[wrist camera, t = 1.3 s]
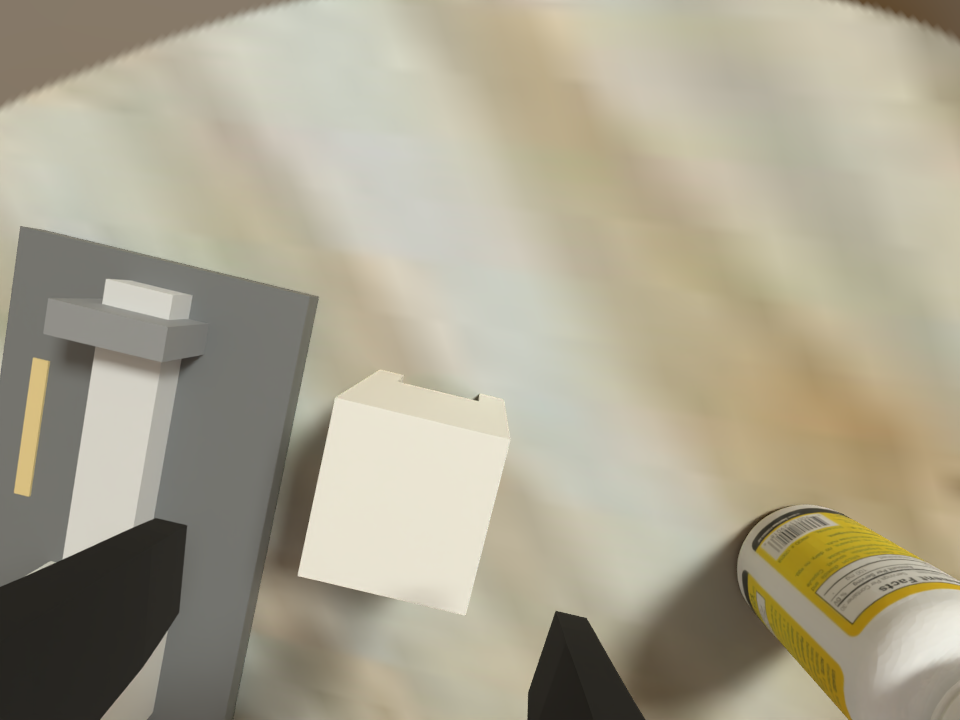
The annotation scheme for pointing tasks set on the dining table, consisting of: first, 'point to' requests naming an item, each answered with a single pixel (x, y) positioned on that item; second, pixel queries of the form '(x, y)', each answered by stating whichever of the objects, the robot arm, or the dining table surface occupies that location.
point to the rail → (150, 438)
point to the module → (406, 492)
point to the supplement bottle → (856, 613)
